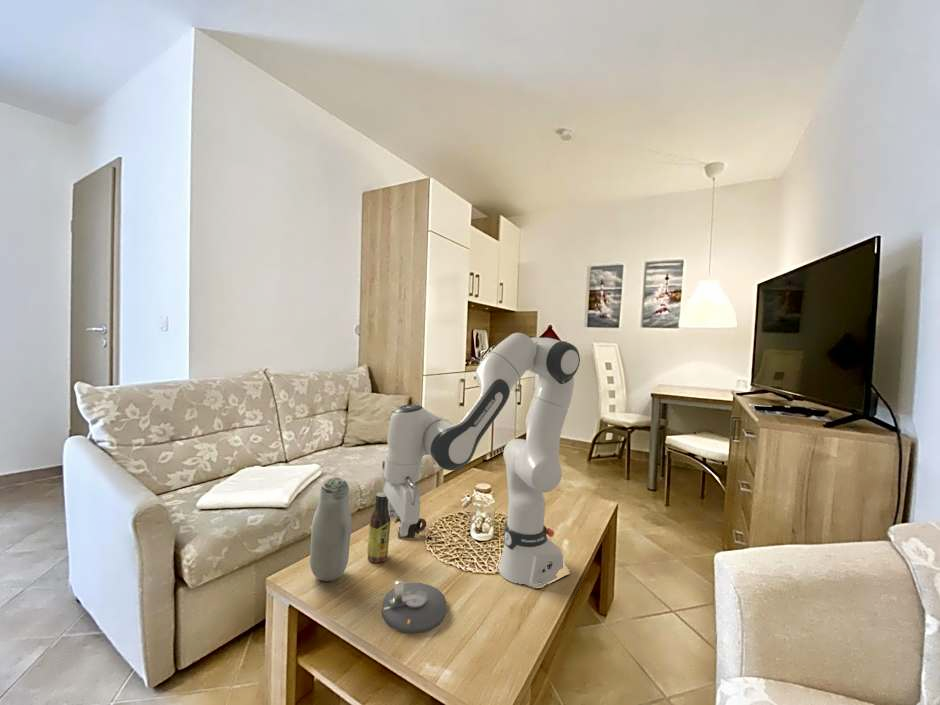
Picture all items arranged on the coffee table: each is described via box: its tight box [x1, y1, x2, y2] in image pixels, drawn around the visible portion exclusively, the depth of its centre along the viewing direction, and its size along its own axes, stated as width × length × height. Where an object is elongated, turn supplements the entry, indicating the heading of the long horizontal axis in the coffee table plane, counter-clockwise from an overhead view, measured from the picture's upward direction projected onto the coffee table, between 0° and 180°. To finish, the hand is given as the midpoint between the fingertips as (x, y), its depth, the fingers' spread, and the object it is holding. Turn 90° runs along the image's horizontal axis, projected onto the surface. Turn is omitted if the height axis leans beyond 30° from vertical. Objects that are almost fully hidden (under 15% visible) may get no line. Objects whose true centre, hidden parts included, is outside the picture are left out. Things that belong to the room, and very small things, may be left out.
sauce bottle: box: [366, 491, 392, 564], centre depth 123 cm, size 7×6×20 cm
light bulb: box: [389, 578, 427, 609], centre depth 101 cm, size 10×6×6 cm, turn 117°
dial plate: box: [381, 582, 447, 634], centre depth 102 cm, size 16×16×2 cm
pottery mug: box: [394, 515, 427, 539], centre depth 141 cm, size 12×10×8 cm
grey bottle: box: [309, 477, 353, 582], centre depth 112 cm, size 10×10×28 cm
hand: (397, 525), depth 99 cm, fingers open, 8 cm apart
